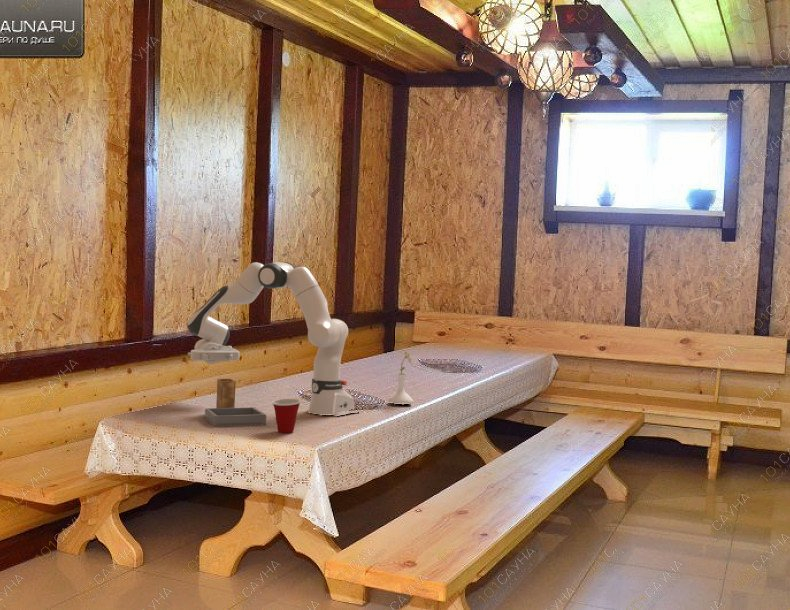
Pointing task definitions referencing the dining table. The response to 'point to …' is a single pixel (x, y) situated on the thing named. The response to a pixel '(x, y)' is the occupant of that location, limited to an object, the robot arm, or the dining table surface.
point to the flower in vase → (401, 386)
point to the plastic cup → (286, 414)
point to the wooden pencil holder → (225, 393)
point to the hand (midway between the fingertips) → (219, 357)
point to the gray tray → (235, 416)
